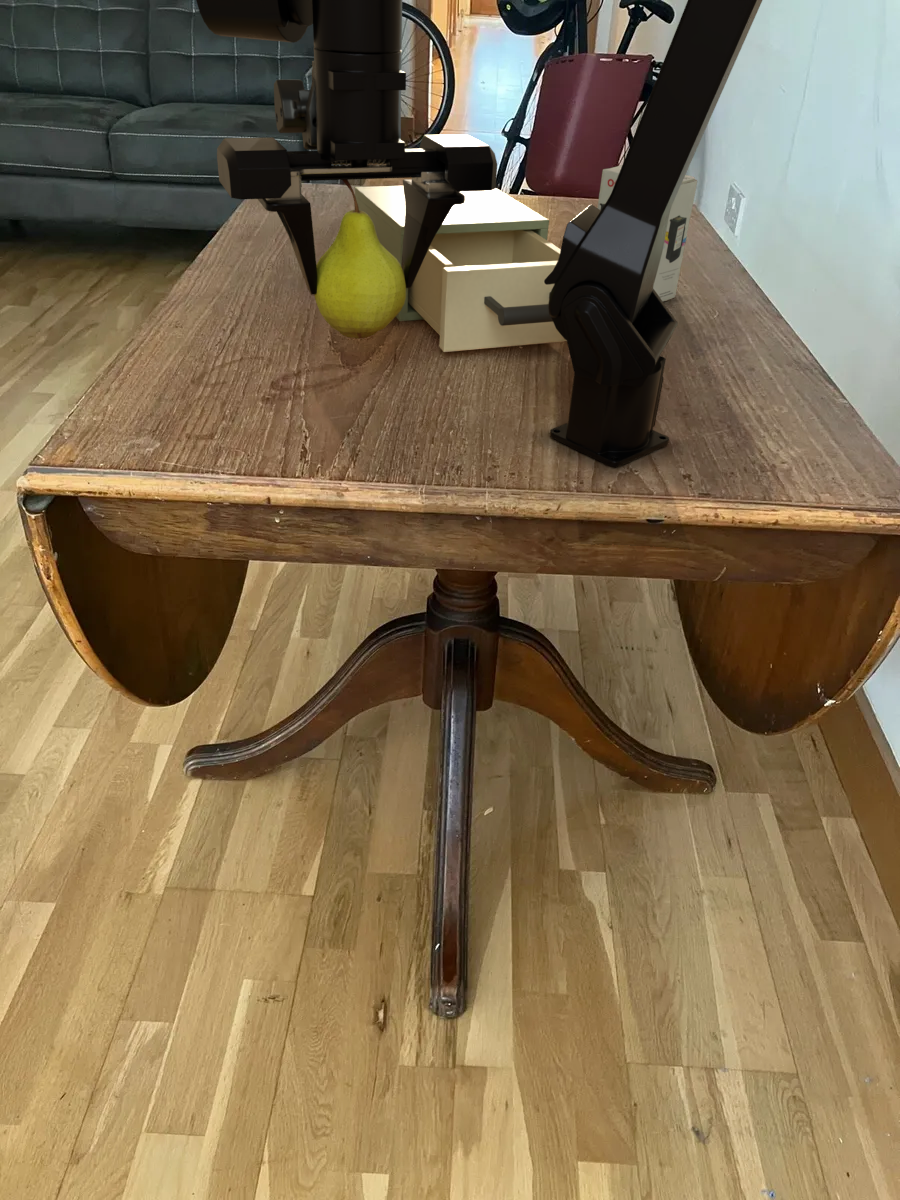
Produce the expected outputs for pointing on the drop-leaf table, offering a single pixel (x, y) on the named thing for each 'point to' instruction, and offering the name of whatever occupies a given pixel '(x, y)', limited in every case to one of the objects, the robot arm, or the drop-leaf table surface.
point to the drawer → (487, 289)
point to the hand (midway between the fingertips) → (360, 289)
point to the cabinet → (471, 216)
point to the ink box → (674, 233)
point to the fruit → (359, 279)
